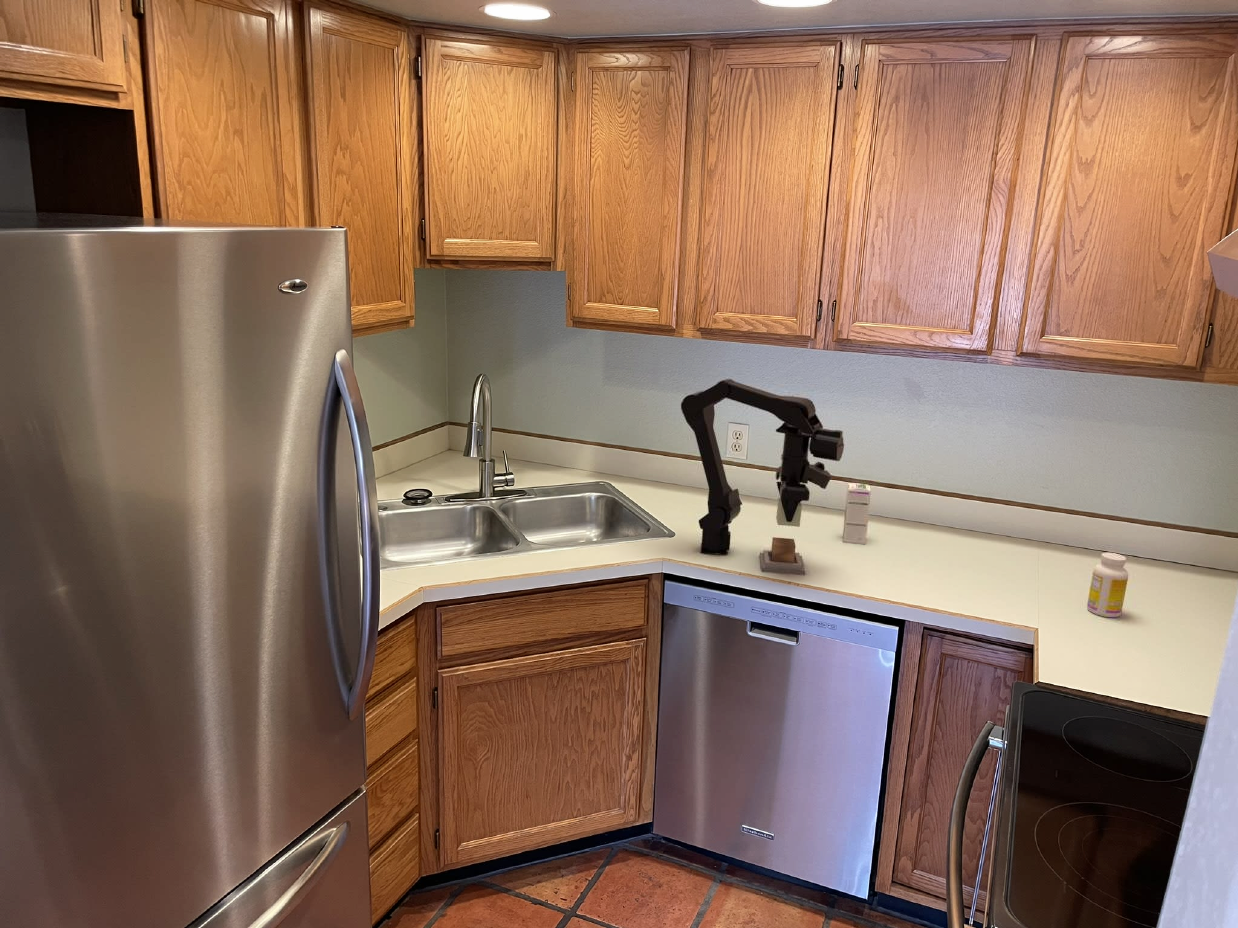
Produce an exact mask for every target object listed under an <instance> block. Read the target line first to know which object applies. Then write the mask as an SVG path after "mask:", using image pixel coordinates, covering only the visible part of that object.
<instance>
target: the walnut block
mask: <svg viewBox="0 0 1238 928" xmlns="http://www.w3.org/2000/svg"><path fill="white" fill-rule="evenodd" d="M795 541H796V540H795V539H794V538H786V537H775V536H774V537H773V536H772V543H771V550H770V551H771V561H772V562H784V563H794V557H795V552H796V546H797V545H796V543H795Z"/></svg>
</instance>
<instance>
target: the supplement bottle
mask: <svg viewBox="0 0 1238 928" xmlns="http://www.w3.org/2000/svg"><path fill="white" fill-rule="evenodd" d="M1100 556H1101V557H1100V563H1098V564H1096V565H1095V566H1094V567H1093V571H1092V576H1091V581H1090V586H1089V593H1088V597H1087V603H1086V604H1087V605H1086V608H1087V610H1088V611H1089V612H1091V613H1093V614H1094V615H1097V616H1100V617H1105V618H1117V617H1120V616H1121V614H1122V611H1123V606H1124V603H1125V596H1126V591H1127V585H1128V580H1129V571H1128V570H1127V569H1126V568H1125V565H1126V564H1127V563H1126V562H1127V558H1126V556H1124V555H1121V554H1118V553H1114V552H1103V553H1101V555H1100Z"/></svg>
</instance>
